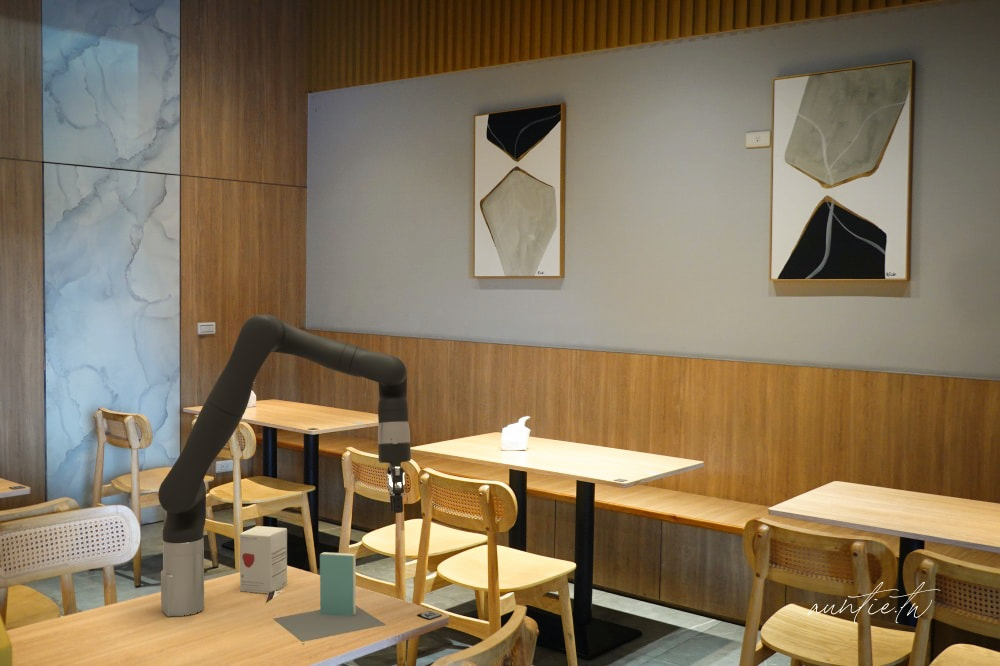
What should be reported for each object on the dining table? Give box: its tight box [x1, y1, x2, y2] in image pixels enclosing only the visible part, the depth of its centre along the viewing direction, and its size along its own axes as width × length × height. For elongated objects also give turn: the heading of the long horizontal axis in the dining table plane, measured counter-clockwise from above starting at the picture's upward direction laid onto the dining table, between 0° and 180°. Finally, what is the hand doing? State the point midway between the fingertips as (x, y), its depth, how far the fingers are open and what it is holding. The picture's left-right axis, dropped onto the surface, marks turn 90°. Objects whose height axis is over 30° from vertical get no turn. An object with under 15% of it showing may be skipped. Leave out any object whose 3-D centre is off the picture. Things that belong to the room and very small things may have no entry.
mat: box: [272, 605, 387, 643], centre depth 220 cm, size 20×18×1 cm
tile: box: [319, 551, 357, 616], centre depth 225 cm, size 2×8×14 cm, turn 78°
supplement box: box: [239, 525, 288, 595], centre depth 247 cm, size 9×9×15 cm
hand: (396, 512), depth 224 cm, fingers open, 8 cm apart
